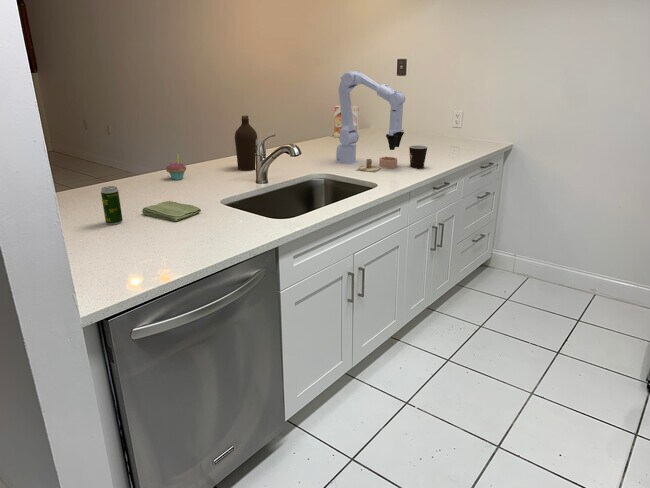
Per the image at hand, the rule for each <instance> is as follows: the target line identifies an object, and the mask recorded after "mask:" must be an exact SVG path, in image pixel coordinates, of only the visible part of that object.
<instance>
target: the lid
mask: <svg viewBox="0 0 650 488" xmlns="http://www.w3.org/2000/svg"><path fill="white" fill-rule="evenodd" d="M372 162H373V159H372V158H367V159H366V165H360V166H359V167H358V169H359V170H361V171H360V172H364V171H366V172H367V173H373V171H377V172H379V171H380V170H379V168H380V166H379V167H378V166H376V165H373V163H372ZM378 170H379V171H378Z"/></svg>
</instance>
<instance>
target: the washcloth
mask: <svg viewBox="0 0 650 488" xmlns="http://www.w3.org/2000/svg"><path fill="white" fill-rule="evenodd" d="M141 212H142V214H143V216H148V217H151V218H156V219H161V220H162V219H163V220H167V221H172V222H176V223H177V222H180V221H182V220H184V219H187V218H189V217H191V216H194V215H196V214H198V213H201V212H202V209H201V208H200V207H198V206H196V205H192V204H187V203H180V202H177V201H171V200H166V201H163V202H160V203H157V204H152V205H148V206H145V207H143V208H142V211H141Z"/></svg>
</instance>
